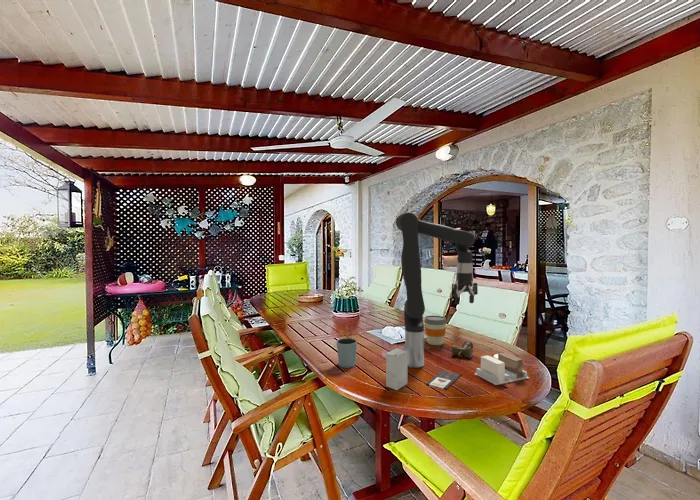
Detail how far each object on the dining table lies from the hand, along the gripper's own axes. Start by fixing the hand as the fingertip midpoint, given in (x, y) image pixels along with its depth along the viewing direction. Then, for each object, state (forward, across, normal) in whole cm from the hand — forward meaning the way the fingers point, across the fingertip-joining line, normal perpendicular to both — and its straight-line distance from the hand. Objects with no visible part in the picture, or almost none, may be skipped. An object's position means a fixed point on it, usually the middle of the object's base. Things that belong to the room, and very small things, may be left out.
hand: (464, 303), depth 176 cm
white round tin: (+30, +16, -10) cm, 35 cm away
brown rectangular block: (+28, +7, -23) cm, 37 cm away
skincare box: (+30, -45, -13) cm, 56 cm away
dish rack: (+29, +2, -23) cm, 37 cm away
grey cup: (+30, -57, +18) cm, 67 cm away
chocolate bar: (+30, -23, -16) cm, 41 cm away
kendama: (+30, +6, +8) cm, 32 cm away
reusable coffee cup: (+30, +4, +31) cm, 43 cm away
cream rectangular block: (+28, -3, -23) cm, 37 cm away
